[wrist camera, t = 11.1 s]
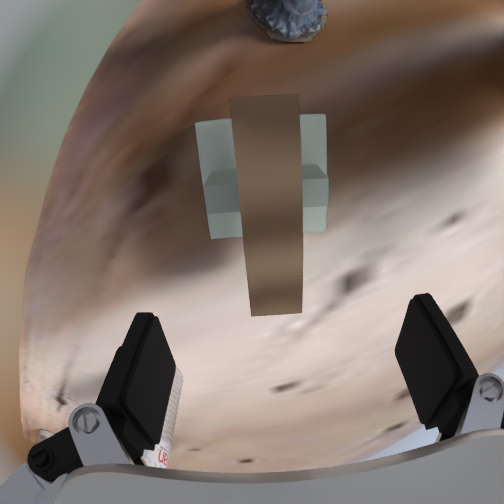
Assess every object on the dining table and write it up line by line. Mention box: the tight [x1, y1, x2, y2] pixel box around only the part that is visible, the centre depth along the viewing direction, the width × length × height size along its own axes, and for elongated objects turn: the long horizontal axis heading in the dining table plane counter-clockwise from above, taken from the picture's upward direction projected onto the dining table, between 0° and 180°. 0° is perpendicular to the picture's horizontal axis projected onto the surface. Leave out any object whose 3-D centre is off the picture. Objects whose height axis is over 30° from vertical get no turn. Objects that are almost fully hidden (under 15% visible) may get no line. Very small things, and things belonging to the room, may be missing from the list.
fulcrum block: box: [195, 114, 329, 239], centre depth 27 cm, size 12×12×6 cm
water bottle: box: [142, 367, 183, 468], centre depth 34 cm, size 7×7×25 cm
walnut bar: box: [229, 94, 303, 316], centre depth 22 cm, size 16×4×5 cm, turn 5°
